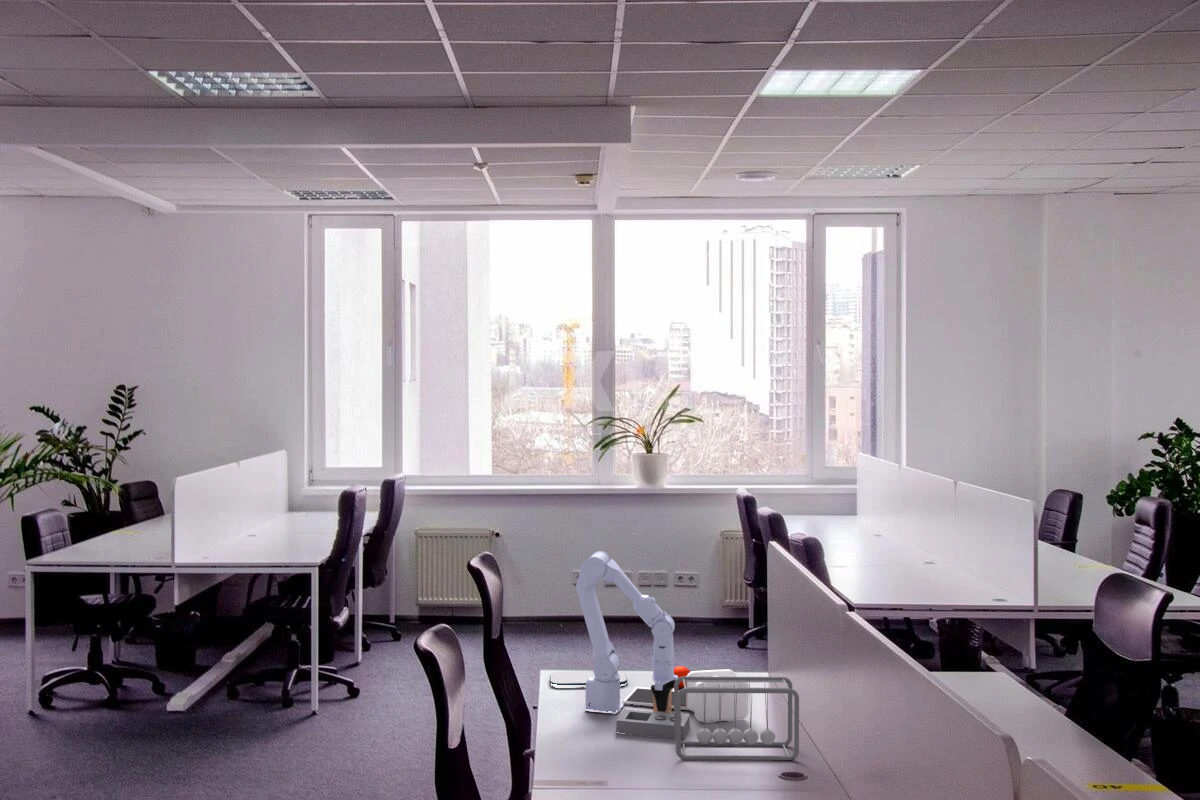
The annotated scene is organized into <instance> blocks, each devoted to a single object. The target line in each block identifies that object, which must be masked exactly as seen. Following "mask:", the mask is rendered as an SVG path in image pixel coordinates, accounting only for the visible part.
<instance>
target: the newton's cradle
mask: <svg viewBox="0 0 1200 800" xmlns="http://www.w3.org/2000/svg"><path fill="white" fill-rule="evenodd" d="M682 681H683V683H684V688H683V689H681V690H680V691H679V683H680V682H682ZM685 682H734V688H730V687H721V686H720V687H686V685H685ZM735 682H747V683H748V685H749V688H737V687H736V688H735V686H736V685H735ZM751 683H764V685H765V687H753V686H752V685H751ZM766 683H784V685H785V687H768V686H767V684H766ZM719 684H720V683H719ZM704 685H705V684H704ZM673 690H674V709H673V713H674V739H673V740H674V742H675V743H676V745H675V747H676V748H675V751H676V755H677V756H678V758H679V759H681V760H682V761H731V762H732V761H735V762H736V761H737V762H738V761H740V762H741V761H744V762H746V761H751V762H752V761H754V762H755V761H757V762H760V761H761V762H766V761H767V762H769V761H770V762H773V761H772V760H792V761H794V760H796V759H797V758H798V757H799V753H800V695H799V693H798V691H796V689H793V682H792V681H791V679H789V678H788V677H784V676H736V677H679V678H678V679H677V680H676V681H675V684H674V688H673ZM684 693H705V705H704V723H703V728H700V730H699V731H698V732H697V735H696V737H697V741H693V740H691V741H689V740H688V741H686V740H681V714H682V709H681V695H682V694H684ZM706 693H719V721H718V723H719V727H718V728H715V730H714V731H713V732H711V730H710V729H708V728H706V723H705V707H706ZM720 693H734V710H735V693H736V703H737V693H749V696H751V694H764V699H765V701H764V702H765V703H766V708H765V714H766V715H765V717H766V727H765V728H764V729H762V731H760V734H758V732H757V731H756V730H755V729H753V728H752V716H753V715H752V714H753V711H752V710H753V697H750V711H749V722H750V723H749V726H750V727H749V728H746V729H745V730H744V732H742V731H741V730H740V729H739V728H737V721H736V717H735V721H734V728H732V729H730V730H729V731H728V733H727V731H726V730H724V729H723V728H721V725H722V724H721V722H722V721H721V698H720ZM769 694H787V739H786V740H785V741H776V734H775V732H774V730H772V729H770V728H769ZM793 699H794V712H793ZM793 713H794V715H793ZM793 716H794V718H793ZM793 719H794V723H793ZM793 725H794V728H793ZM793 729H794V730H793ZM793 734H794V735H793ZM793 737H794V738H793ZM759 738H760V741H758V740H759ZM793 739H794V741H793ZM712 740H713V741H712ZM727 740H728V741H727ZM743 740H744V741H743ZM792 741H793V742H794V744H793V746H794V751H793V754H791V755H789V753H788V751H787V748H786V747H788V746H789V745H790V744H791V743H792ZM775 746H783V749H784V752H785V754H786V755H693V754H692V755H690V754H689V755H688V754H687V751H686V747H775ZM682 748H683V749H682ZM682 750H683V753H682ZM793 759H794V760H793ZM762 760H763V761H762Z"/></svg>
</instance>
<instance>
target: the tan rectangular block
mask: <svg viewBox="0 0 1200 800" xmlns="http://www.w3.org/2000/svg"><path fill="white" fill-rule="evenodd" d="M672 690H673V689H672V688H671V690H670V693H669V696H668V701H667V708H666V711H665V712H662V713H672V712H671V711H673V710H672V709H673V708H672ZM652 712H661V711H658V709H657V705H656V700H655V697H654V694H653V708H652Z"/></svg>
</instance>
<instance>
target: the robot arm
mask: <svg viewBox="0 0 1200 800" xmlns="http://www.w3.org/2000/svg"><path fill="white" fill-rule="evenodd" d="M579 568H580V570H579V574H578V577H577V581H576V585H575V588H576V589H575V590H576V593H577V596H578V601H579V604H580V607H581V610H582V614H583V618H584V620H585V621H584V623H585V624H586V625H585V626H586V628H587V632H588V635H589V638H590V639H589V640H590V642H591V646H592V659H593V666H592V667H593V669H592V670H593V671H592V672H594V675H595V676H594V677H588V679H587V682H586V688H585V709H593V710H599V711H606V712H608V711H612V712H613V713H614V712H615V713H618V712H619V711H620V712H621V710H622V709H623V708H624V706H625V704H623V703H621V687H620V676H619V674H618V672H617V671H618V670H619V668H620V667H621V664H622V661H621V660H622V659H621V657H620V655H619V654H618V652H616V650H615V648H614V645H613V643H612V642H611V641H610V638H609V634H608V631H607V627H606V626H607V625H606V623H605V619H604V615H603V613H602V610H601V606H600V603H599V602H600V601H599V599H598V595H597V593H596V586H597V584H598V583H599V581H600V579H601V578H602V577H603V578H602V581H603V582H608V583H613V584H614V585H616V587H617V588H618V589H620V591H621V592H622V593H623V594H624V595H625V596H627V598H628V599H629V600H630V601H631V602H632V603H633V607H632V608H633V611H634V612H635V613H636V614H637V615H638V616H639V617H640V618H641V620H642V621H643V622H644V623H645V624H646V625H647V626H648V627H649V628H651V633H652V636H653V644H652V647H653V651H652V652H653V653H652V654H653V657H652V659H653V660H652V661H653V664H652V667H653V669H652V670H653V671H652V680H653V682H654V684H651V686H650V688H651V691H652V692H653V694H654V697H655V700H656V705H657V709H658V711H661V712H665V711H666V708H667V701H668V696H669V693H670V690H671V688H672V690H674V688H673V686H674V684H675V681H676V680H677V679H678V676H677V675H674V668H675V665H674V664H675V661H674V660H675V657H674V656H675V653H674V652H675V647H674V646H675V644H674V640H675V639H674V634H673V633H674V631H675V629H676V628H675V626H676V625H675V621H674V618H673V617H672V615H670V614H668V613H667V612H666V611H665V610H664V611H663V610H662V609H661V607H660V606H659V605H658V604H657V603H656V598H654V597H653V596H652V597H651V596H650V595H648V594H642V593H641V592H640V590H639V589H638V588H637V587H636V585H634V583H633V582H632V580H630V578H629V577H628V576H627V575H626V574H625V572H624V571H623V570H622V568H621V567H620V566H619V565H618V563H617V562H616V561H615V560H614V559H613V558H611V557H610V555H609V554H608V553H607V552H605V551H603V550H602V551H595V552H594V553H593V554H592V555H591V556H590V557H587V559H586V560H585V561H584V562H583V563H582V564H581V566H580V567H579ZM590 704H591V705H590ZM620 704H621V705H620ZM623 705H624V706H623ZM622 707H623V708H622ZM621 708H622V709H621ZM620 709H621V710H620ZM616 710H617V712H616ZM620 712H619V713H620ZM619 713H618V714H619Z"/></svg>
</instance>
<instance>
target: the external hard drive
mask: <svg viewBox="0 0 1200 800" xmlns="http://www.w3.org/2000/svg"><path fill="white" fill-rule="evenodd" d="M617 672H618V674H619V676H620V685H621V684H625V683H627V684H628V678H627V676H626V673H625V672H623V671H618V670H617ZM594 676H595V675H594V672H593V671H571V672H570V671H565V672H553V673H551V674H550V676H549V684H550V683H552V684H557V685H586V682H587V679H588V677H594Z"/></svg>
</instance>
